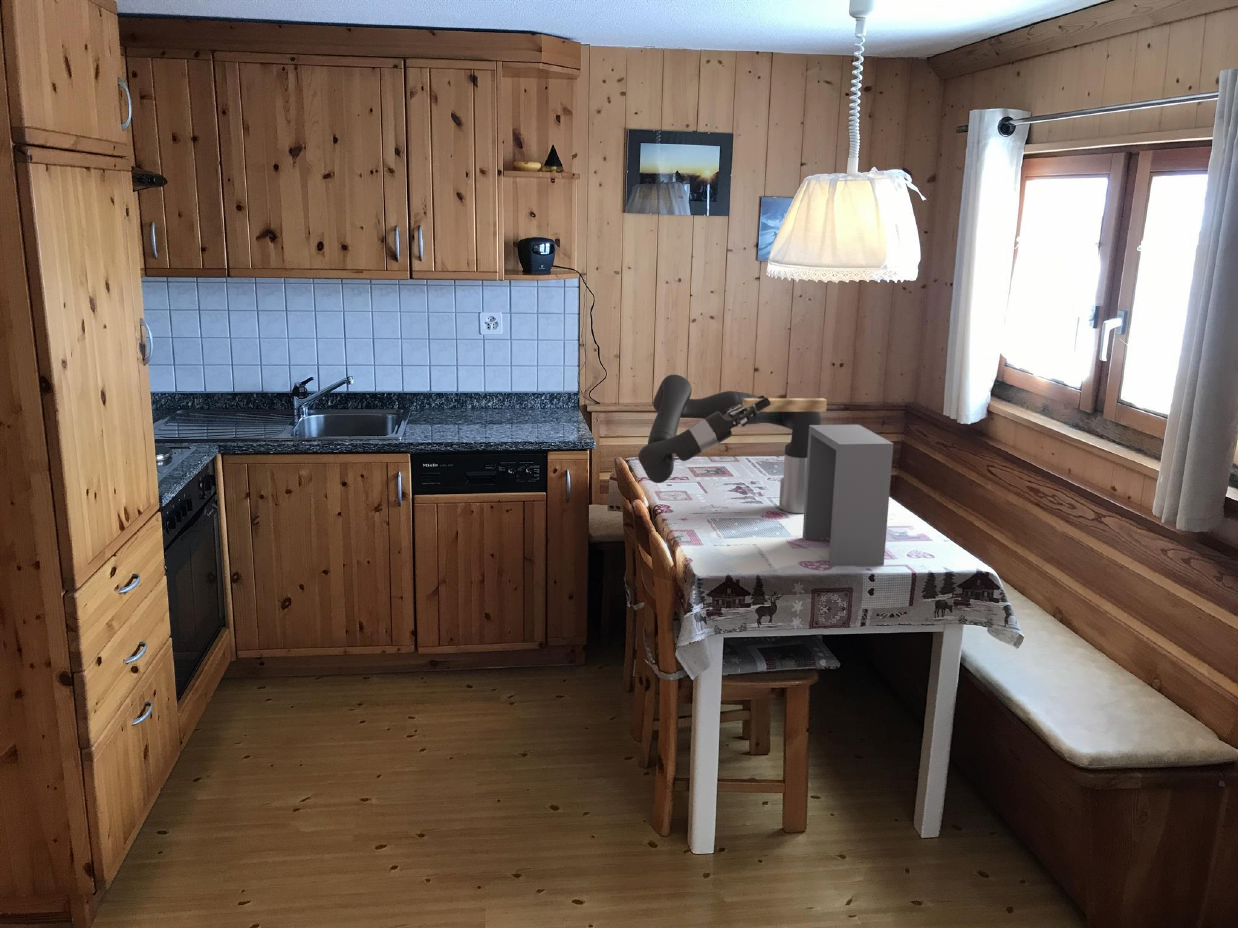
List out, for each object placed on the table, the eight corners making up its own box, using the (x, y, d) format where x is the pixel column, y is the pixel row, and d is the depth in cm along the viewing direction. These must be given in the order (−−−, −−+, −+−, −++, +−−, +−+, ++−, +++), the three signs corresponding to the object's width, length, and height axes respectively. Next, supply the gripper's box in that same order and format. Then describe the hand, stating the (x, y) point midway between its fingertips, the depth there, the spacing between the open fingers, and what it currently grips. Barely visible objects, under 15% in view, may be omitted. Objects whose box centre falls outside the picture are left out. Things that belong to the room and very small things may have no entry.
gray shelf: (831, 566, 258) (839, 444, 250) (802, 537, 281) (809, 425, 274) (883, 564, 260) (893, 443, 252) (850, 536, 283) (858, 424, 275)
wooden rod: (745, 411, 263) (746, 400, 262) (742, 409, 266) (743, 398, 265) (826, 411, 266) (827, 400, 266) (822, 409, 269) (823, 398, 269)
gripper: (709, 438, 272) (765, 406, 272) (723, 449, 259) (781, 416, 259) (697, 415, 270) (753, 383, 270) (709, 425, 257) (768, 391, 257)
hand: (766, 399), depth 265 cm, fingers closed on wooden rod, 3 cm apart
